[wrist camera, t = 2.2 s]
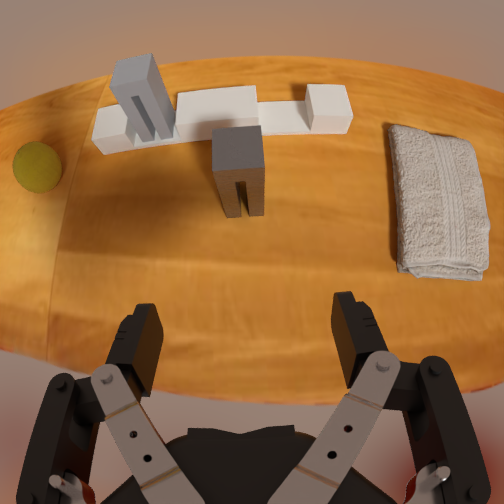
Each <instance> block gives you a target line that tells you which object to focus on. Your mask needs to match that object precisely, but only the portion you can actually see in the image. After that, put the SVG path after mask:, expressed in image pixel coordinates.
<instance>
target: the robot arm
mask: <svg viewBox="0 0 504 504" xmlns="http://www.w3.org/2000/svg"><path fill="white" fill-rule="evenodd" d="M331 328H332V333H333V336H334V340H335V344H336V347H337V351H338V355H339V359H340V362H341V366H342V370H343V374H344V378H345V382H346V386H347V389H349V388H351V389H350V391H349V392H348V394H345V395H344V397H343V398H342V400H341V401H340V403H339V405H338V406H337V408H336V410H335V411H334V413H333V414H332V416H331V418H330V419H329V421H328V422H327V424H326V425H325V427H324V428H323V430H322V431H321V433H320V434H319V436H318V437H317V438H315V437H313V436H311V435H308V434H306V433H301V432H295V429H294V425H287V426H273V427H266V428H262V429H258V430H255V431H251V432H247V433H243V434H236V433H232V432H227V431H222V430H218V429H213V428H208V429H207V428H188V434H187V435H184V436H181V437H178V438H176V439H173V440H172V441H170V442H168V443H167V444H166V443H165V442H164V441H163V439H162V437H161V436H160V435H159V433H158V431H157V430H156V428H155V427H154V425H153V424H152V422H151V420H150V419H149V417H148V416H147V414H146V412H145V411H144V409H143V407H142V406H141V404H140V401H141V397H150V394H151V390H152V385H153V381H154V376H155V372H156V368H157V363H158V359H159V355H160V351H161V347H162V343H163V327H162V324H161V322H160V319H159V316H158V313H157V310H156V307H155V305H154V304H153V303H148V304H137V305H136V308H135V310H134V313H133V315H127V317H126V318H125V319H124V320H123V321H122V322H121V324H120V326H119V329H118V333H117V334H116V336H115V340H114V342H113V344H112V347H111V349H110V352H109V355H108V358H107V360H106V363H105V365H102V366H100V367H98V368H97V369H96V370H95V371H94V372H93V374H92V376H91V377H87V378H82V379H77V380H75V379H74V378H73V377H72V376H71V375H70V374H68V373H61V374H58V375H56V376H55V377H53V378H52V380H51V381H50V382H49V385H48V387H47V390H46V393H45V396H44V398H43V401H42V404H41V407H40V410H39V413H38V416H37V420H36V423H35V425H34V429H33V432H32V435H31V439H30V442H29V445H28V449H27V453H26V456H25V460H24V464H23V468H22V472H21V476H20V480H19V485H18V489H17V495H16V502H17V504H96V500H95V493H94V491H93V489H92V488H91V487H90V486H89V485H88V484H89V477H90V472H91V465H92V460H93V454H94V449H95V444H96V439H97V434H98V429H99V425H100V422H103V421H106V424H107V426H108V428H109V430H110V432H111V434H112V436H113V438H114V440H115V442H116V444H117V446H118V448H119V450H120V451H121V454H122V455H123V457H124V459H125V461H126V463H127V465H128V466H129V468H130V470H131V471H132V473H133V475H132V476H131V477H130V478H128V479H127V480H126V481H125V482H124V483H123V484H122V485H121V486H120V487H119V488H117V489H116V490H115V491H114V492H113V493H112V494H110V495H109V496H108V497H107V498H106V499H105V500H104V501H102V502H101V503H100V504H397V503H396V502H395V501H394V500H393V499H392V498H391V497H390V496H388V495H387V494H386V493H384V492H383V491H382V490H381V489H379V488H378V487H377V486H375V485H374V484H373V483H372V482H370V481H369V480H368V479H366V478H365V477H364V476H363V475H361V474H360V473H359V472H358V471H357V470H355V469H354V468H353V467H352V464H353V463H354V461H355V459H356V457H357V456H358V454H359V452H360V450H361V449H362V447H363V445H364V443H365V441H366V440H367V438H368V435H369V434H370V432H371V430H372V428H373V426H374V424H375V422H376V420H377V418H378V416H379V414H380V412H381V410H382V409H389V410H400V411H402V413H403V417H404V421H405V425H406V429H407V433H408V437H409V442H410V446H411V450H412V454H413V459H414V465H415V469H416V475H415V476H413V477H412V478H411V479H410V481H409V482H408V484H407V486H406V497H405V500H404V502H403V504H486V503H487V502H488V500H489V498H490V494H491V487H490V482H489V478H488V475H487V471H486V467H485V464H484V460H483V457H482V454H481V450H480V447H479V444H478V441H477V438H476V435H475V432H474V429H473V426H472V423H471V420H470V417H469V414H468V412H467V409H466V406H465V403H464V401H463V398H462V395H461V393H460V390H459V388H458V385H457V383H456V380H455V378H454V375H453V373H452V371H451V368H450V366H449V364H448V363H447V362H446V361H445V360H444V359H443V358H441V357H438V356H428V357H426V358H424V359H423V360H422V361H421V363H420V364H417V363H407V362H402V361H399V359H398V358H397V357H396V356H395V355H394V354H393V353H391V352H389V351H388V348H387V346H386V344H385V341H384V339H383V336H382V334H381V331H380V329H379V327H378V326H377V322H376V320H375V318H374V315H373V313H372V310H371V308H370V307H369V306H368V305H366V304H365V303H364V302H363V301H362V302H356V301H355V298H354V296H353V294H352V292H351V291H347V292H336V293H334V297H333V306H332V314H331Z"/></svg>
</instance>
